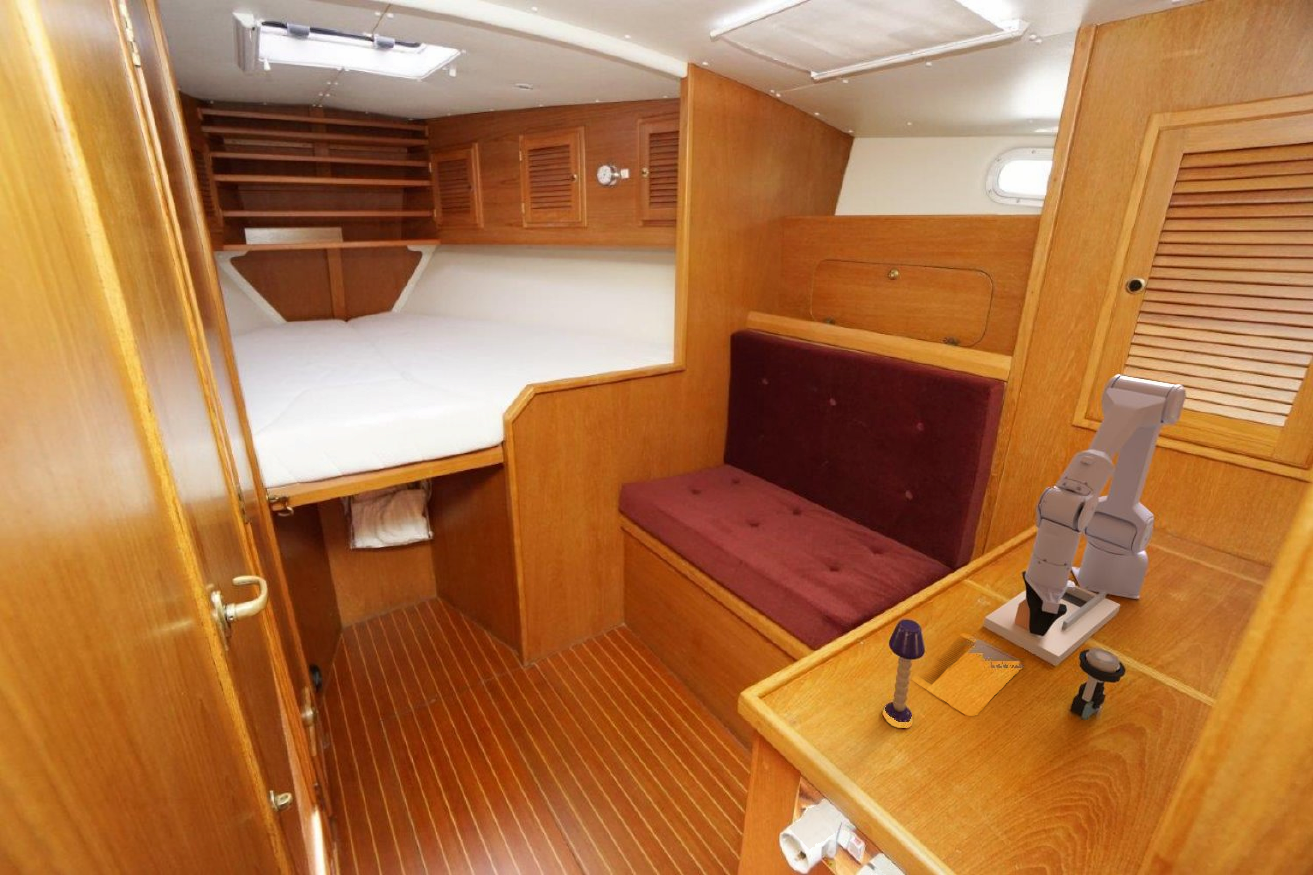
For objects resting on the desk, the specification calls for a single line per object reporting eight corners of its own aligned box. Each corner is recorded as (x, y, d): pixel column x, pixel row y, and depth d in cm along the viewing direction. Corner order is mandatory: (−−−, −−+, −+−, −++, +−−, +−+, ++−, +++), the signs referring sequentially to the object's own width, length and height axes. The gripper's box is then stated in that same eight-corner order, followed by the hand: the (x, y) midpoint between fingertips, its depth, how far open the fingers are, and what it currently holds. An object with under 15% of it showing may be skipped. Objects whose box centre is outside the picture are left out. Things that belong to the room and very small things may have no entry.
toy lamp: (893, 734, 82) (910, 640, 76) (870, 710, 86) (885, 619, 80) (919, 723, 83) (937, 630, 77) (895, 700, 87) (911, 610, 82)
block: (1025, 614, 103) (1029, 595, 101) (1049, 625, 100) (1054, 606, 98) (1014, 622, 101) (1018, 603, 99) (1038, 634, 98) (1044, 615, 96)
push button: (1080, 688, 89) (1096, 636, 86) (1120, 711, 85) (1139, 657, 81) (1057, 705, 86) (1073, 652, 83) (1097, 730, 82) (1116, 675, 78)
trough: (1047, 582, 115) (1051, 567, 114) (1117, 613, 106) (1122, 597, 105) (983, 626, 103) (986, 610, 102) (1056, 666, 94) (1061, 649, 92)
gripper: (1090, 585, 87) (1068, 656, 92) (1074, 540, 99) (1056, 605, 104) (1035, 574, 90) (1017, 643, 95) (1027, 532, 102) (1011, 595, 107)
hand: (1034, 623), depth 100 cm, fingers closed on block, 5 cm apart
